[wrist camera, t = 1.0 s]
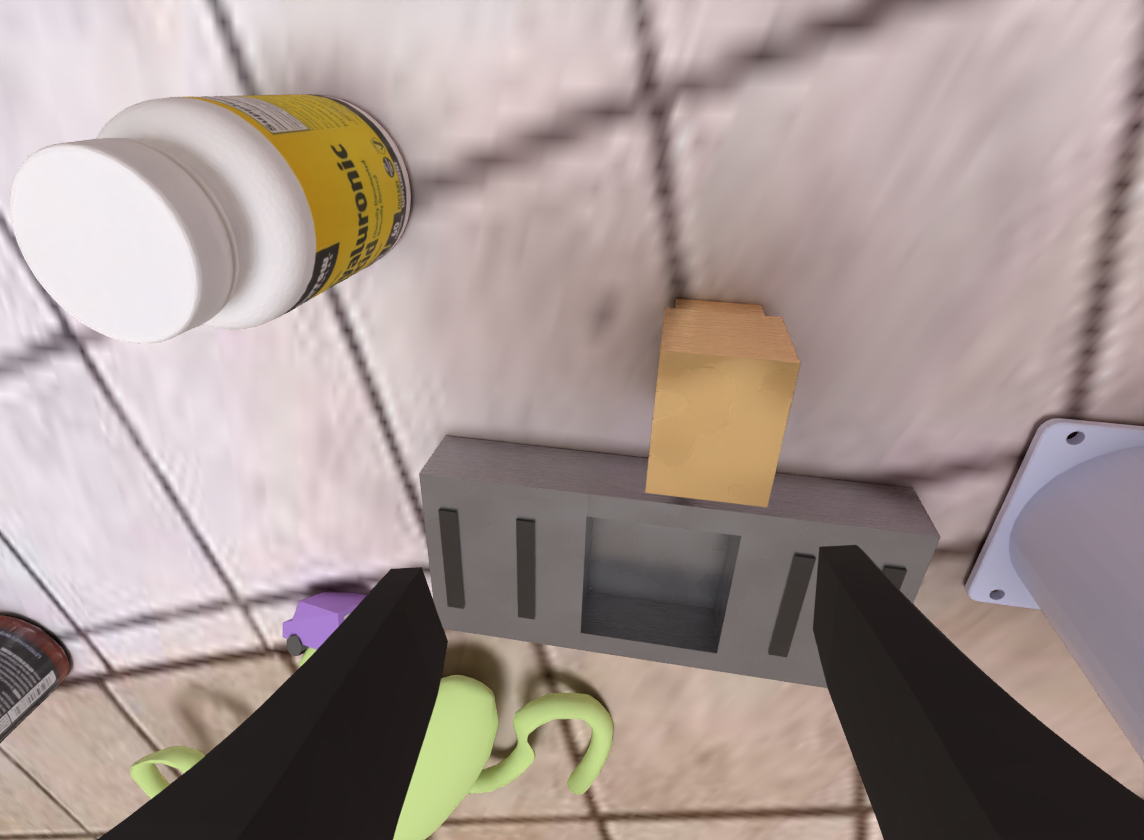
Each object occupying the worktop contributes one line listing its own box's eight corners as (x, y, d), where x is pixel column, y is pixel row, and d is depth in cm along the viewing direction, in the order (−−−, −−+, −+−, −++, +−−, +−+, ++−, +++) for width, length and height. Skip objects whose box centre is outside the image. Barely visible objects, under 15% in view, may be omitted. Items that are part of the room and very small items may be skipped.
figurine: (162, 721, 40) (90, 808, 35) (371, 507, 28) (304, 596, 23) (385, 860, 44) (348, 955, 39) (653, 725, 32) (646, 839, 27)
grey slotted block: (913, 488, 23) (941, 538, 20) (857, 639, 26) (875, 697, 24) (445, 435, 25) (418, 475, 22) (457, 581, 29) (435, 629, 26)
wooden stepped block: (773, 297, 20) (800, 363, 15) (750, 416, 22) (767, 507, 18) (666, 288, 21) (660, 350, 16) (653, 407, 23) (645, 492, 18)
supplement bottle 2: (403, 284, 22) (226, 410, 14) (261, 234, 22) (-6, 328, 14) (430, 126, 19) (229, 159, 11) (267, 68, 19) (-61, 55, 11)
